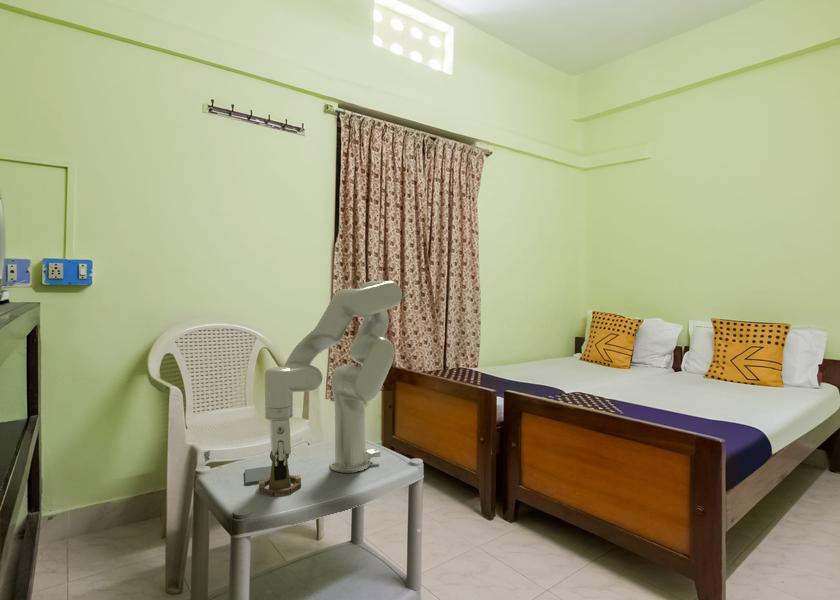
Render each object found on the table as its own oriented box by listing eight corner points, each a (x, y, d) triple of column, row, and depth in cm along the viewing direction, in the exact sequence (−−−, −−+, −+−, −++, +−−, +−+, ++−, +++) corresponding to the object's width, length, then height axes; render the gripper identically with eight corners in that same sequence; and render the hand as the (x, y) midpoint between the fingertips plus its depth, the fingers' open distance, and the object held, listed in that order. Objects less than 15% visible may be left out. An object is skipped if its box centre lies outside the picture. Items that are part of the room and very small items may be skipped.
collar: (298, 476, 136) (298, 469, 136) (303, 491, 126) (303, 483, 126) (258, 482, 132) (258, 475, 132) (260, 499, 122) (260, 490, 122)
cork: (295, 483, 131) (294, 445, 131) (283, 493, 125) (283, 453, 125) (276, 481, 132) (275, 444, 132) (264, 490, 127) (263, 451, 126)
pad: (279, 467, 143) (279, 464, 143) (282, 479, 134) (282, 477, 134) (244, 472, 139) (244, 469, 139) (245, 485, 130) (245, 482, 130)
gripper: (295, 418, 122) (296, 486, 122) (290, 403, 137) (291, 463, 138) (266, 421, 119) (266, 490, 120) (264, 405, 135) (264, 467, 135)
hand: (279, 475), depth 129 cm, fingers closed on cork, 4 cm apart
